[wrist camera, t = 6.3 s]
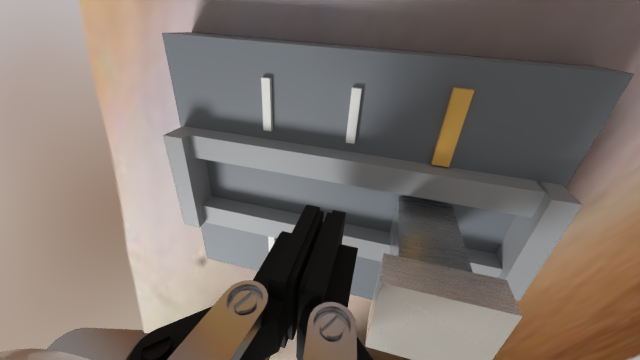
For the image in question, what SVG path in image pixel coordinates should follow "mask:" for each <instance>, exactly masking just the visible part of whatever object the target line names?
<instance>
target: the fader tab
mask: <svg viewBox="0 0 640 360" xmlns="http://www.w3.org/2000/svg"><path fill="white" fill-rule="evenodd" d="M522 317H523V316H522V314H521V312H520V309H519V307H518V305H517V302H516V300H515V298H514V295H513V293H512V291H511V289H510V286H509V284H508V282H507V280H505V279H500V278H495V277H491V276H486V275H482V274H477V273H473V271H472V268H471V265H470V261H469V258H468V255H467V252H466V248H465V245H464V242H463V239H462V235H461V232H460V229H459V226H458V222H457V219H456V216H455V213H454V209H453V206H452V205H448V204H443V203H437V202H432V201H426V200H420V199H415V198H409V197H404V196H398V200H397V204H396V208H395V212H394V216H393V220H392V224H391V228H390V254H386V253H383V257H382V261H381V265H380V270H379V274H378V278H377V282H376V286H375V290H374V294H373V298H372V303H371V307H370V311H369V315H368V325H367V334H366V344H365V347H369V348H372V349H376V350H379V351H383V352H386V353H390V354H393V355H397V356H400V357H404V358H407V359H411V360H492V359H493V358H494V357H495V355H496V354H497V352H498V351H499V349H500V348H501V347H502V345H503V344H504V342H505V341H506V339H507V338H508V337H509V335H510V334H511V332H512V331H513V329H514V328H515V327H516V325H517V324H518V322H519V321H520V319H521V318H522Z"/></svg>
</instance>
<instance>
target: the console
mask: <svg viewBox="0 0 640 360" xmlns="http://www.w3.org/2000/svg"><path fill="white" fill-rule="evenodd" d="M162 35H163V40H164V45H165V50H166V55H167V60H168V65H169V70H170V75H171V80H172V85H173V90H174V95H175V100H176V105H177V110H178V115H179V120H180V125H181V128H178V129H176V130H174V131H172V132H170V133H167V134H165V135H163V137H164V141H165V145H166V150H167V154H168V158H169V162H170V166H171V171H172V175H173V179H174V183H175V187H176V192H177V196H178V200H179V204H180V208H181V213H182V217H183V221H184V224H187V225H191V226H196V227H201V229H202V234H203V239H204V244H205V249H206V254H207V258H208V259H212V260H216V261H220V262H224V263H228V264H232V265H236V266H240V267H244V268H248V269H252V270H256V271H259V269H260V267H261V265H262V264H263V262H264V260H265V258H266V257H267V255H268V253H269V251H270V250H271V248H272V246H273V245H274V243H275V241H276V239H277V238H278V236H279V234H280V233H281V232H282V231H285V232H289V233H292V231H293V229H294V227H295V226H296V224H297V222H298V220H299V218H300V216H301V214H302V212H303V210H304V208H305V206H306V205H312V206H317V207H320V211H324V219H323V222H324V220H325V217H326V214H327V212H329V213H332V211H333V210H337V211H342V212H346V218H345V225H344V232H343V239H342V244H343V245H347V246H351V247H356V248H358V252H357V257H356V263H355V269H354V274H353V280H352V285H351V291H350V294H352V295H356V296H360V297H364V298H368V299H372V298H373V294H374V290H375V286H376V282H377V278H378V274H379V270H380V265H381V261H382V257H383V253H386V254H390V228H391V224H392V220H393V216H394V212H395V208H396V204H397V200H398V196H404V197H409V198H415V199H420V200H426V201H432V202H437V203H443V204H448V205H452V206H453V209H454V213H455V216H456V219H457V222H458V226H459V229H460V232H461V235H462V239H463V242H464V245H465V248H466V252H467V255H468V258H469V261H470V265H471V268H472V271H473V273H477V274H482V275H486V276H491V277H495V278H500V279H505V280H507V282H508V284H509V286H510V289H511V291H512V293H513V295H514V298H515V300H518V301H520V299H521V298H522V296H523V295H524V293H525V292H526V290H527V288H528V287H529V285H530V284H531V282H532V281H533V279H534V278H535V276H536V275H537V273H538V272H539V270H540V269H541V267H542V266H543V264H544V263H545V261H546V260H547V258H548V257H549V255H550V254H551V252H552V251H553V249H554V248H555V246H556V245H557V243H558V242H559V240H560V239H561V237H562V236H563V234H564V232H565V231H566V229H567V228H568V226H569V225H570V223H571V222H572V220H573V219H574V217H575V216H576V214H577V213H578V211H579V210H580V208H581V207H582V204H581V203H580V202H579V201H578V200H577V199H576V198H575V197H574V196H573V195H572V194H571V193H570V192H569V191H568V190H567V189H566V187H567V185H568V183H569V182H570V180H571V178H572V177H573V175H574V173H575V172H576V170H577V168H578V167H579V165H580V163H581V162H582V160H583V158H584V157H585V155H586V153H587V152H588V150H589V148H590V147H591V145H592V143H593V142H594V140H595V138H596V137H597V135H598V133H599V132H600V130H601V128H602V127H603V125H604V123H605V122H606V120H607V118H608V117H609V115H610V113H611V112H612V110H613V108H614V107H615V105H616V103H617V102H618V100H619V98H620V97H621V95H622V93H623V92H624V90H625V88H626V87H627V85H628V83H629V82H630V80H631V78H632V77H633V75H634V74H632V73H626V72H621V71H616V70H611V69H606V68H600V67H593V66H582V65H570V64H558V63H546V62H534V61H523V60H511V59H499V58H487V57H475V56H464V55H452V54H440V53H428V52H416V51H404V50H393V49H381V48H369V47H357V46H345V45H334V44H322V43H310V42H298V41H286V40H275V39H263V38H251V37H239V36H227V35H216V34H204V33H192V32H186V33H162Z"/></svg>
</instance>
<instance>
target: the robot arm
mask: <svg viewBox="0 0 640 360" xmlns="http://www.w3.org/2000/svg"><path fill="white" fill-rule="evenodd" d="M345 218H346V212H342V211H337V210H333V211H332V213H329V212H327V214H326V217H325V220H324V222H323V219H324V211H320V207H317V206H312V205H306V206H305V208H304V210H303V212H302V214H301V216H300V218H299V220H298V222H297V224H296V226H295V227H294V229H293V231H292V233H289V232H285V231H282V232H281V233H280V234H279V236H278V238H277V239H276V241H275V243H274V245H273V246H272V248H271V250H270V251H269V253H268V255H267V257H266V258H265V260H264V262H263V264H262V265H261V267H260V269H259V271H258V272H257V274H256V276H255V278H254V279H253V281H252V280H250V281H241V282H238V283H236V284H234V285H232V286H231V287H230V288H229V289H228V290H227V291H226V292H225V293H224V294H223V295H222V296H221V297H220V299H219V300H218V301H217V302H216V303H215V304H214V306H212V307H210V308H207V309H205V310H202V311H200V312H197V313H195V314H193V315H190V316H188V317H185V318H183V319H180V320H178V321H176V322H173V323H171V324H168V325H166V326H163V327H161V328H158V329H156V330H154V331H152V332H151V333H144V332H143V330H127V329H103V328H80V329H75V330H73V331H70V332H68V333H66V334H64V335H63V336H61V337H59V338H58V339H57V340H55V341H54V342H53V343H52V344H51V345H50V346H49V347H48V348H47V349H16V350H9V351H2V352H0V360H269V358H270V356H271V355H273V354H275V353H277V352H278V351H279V349H280V347H283V348H285V346H286V343H287V341H288V339H290V340H293V339H294V336H295V333H296V330H297V355H296V357H297V359H298V360H373V359H372V358H371V356H370V355H369V353H368V352H367V350H366V349H365V347H364V346H363V345H362V343H361V342H360V340H359V339H358V337H357V330H356V321H355V318H354V316H353V314H352V313H351V312H350V311H349V309H348V308H347V307H348V302H349V296H350V291H351V285H352V280H353V274H354V269H355V263H356V257H357V252H358V248H356V247H351V246H347V245H343V244H342V239H343V232H344V225H345Z"/></svg>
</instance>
